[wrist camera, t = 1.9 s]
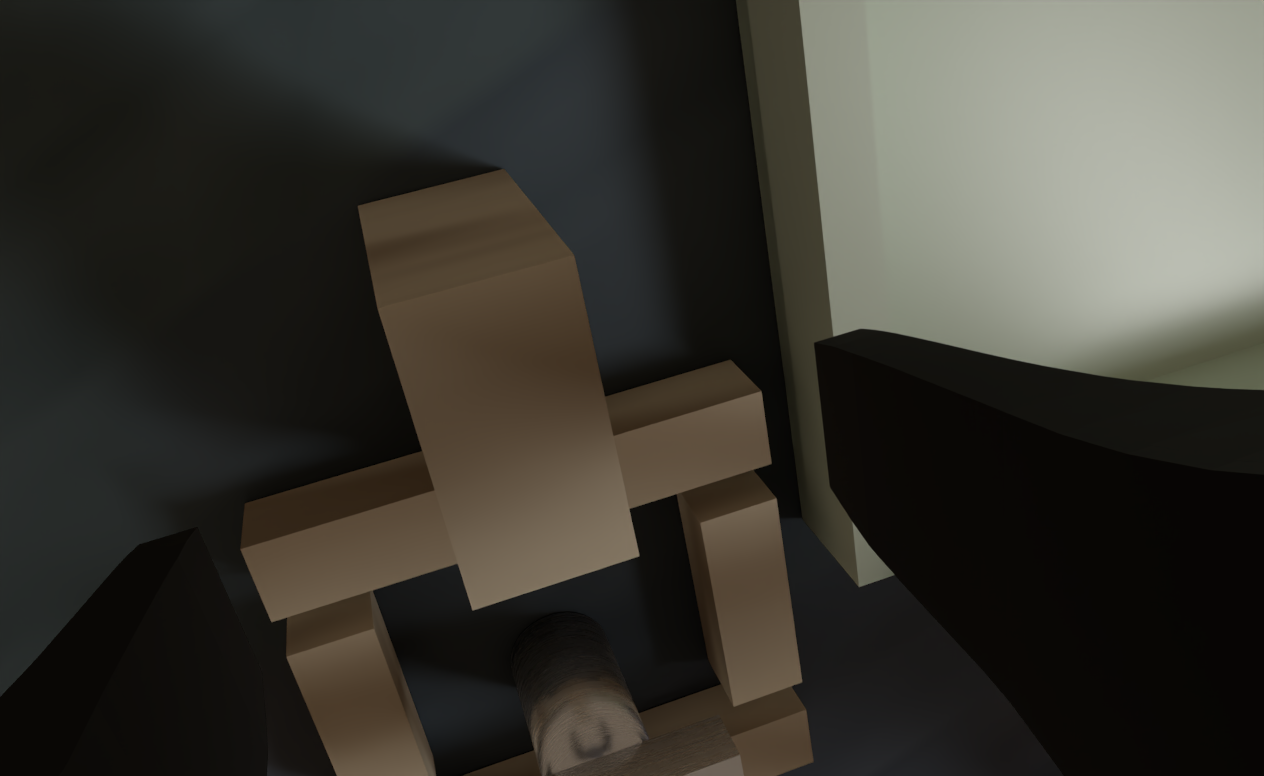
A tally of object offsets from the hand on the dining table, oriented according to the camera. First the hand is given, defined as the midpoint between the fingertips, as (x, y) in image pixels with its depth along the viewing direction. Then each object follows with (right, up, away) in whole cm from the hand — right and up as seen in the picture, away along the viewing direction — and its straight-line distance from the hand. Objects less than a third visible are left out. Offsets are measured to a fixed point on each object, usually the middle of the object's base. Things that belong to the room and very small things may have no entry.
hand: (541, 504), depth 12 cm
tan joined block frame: (-1, -1, +8) cm, 8 cm away
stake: (0, -4, +9) cm, 10 cm away
